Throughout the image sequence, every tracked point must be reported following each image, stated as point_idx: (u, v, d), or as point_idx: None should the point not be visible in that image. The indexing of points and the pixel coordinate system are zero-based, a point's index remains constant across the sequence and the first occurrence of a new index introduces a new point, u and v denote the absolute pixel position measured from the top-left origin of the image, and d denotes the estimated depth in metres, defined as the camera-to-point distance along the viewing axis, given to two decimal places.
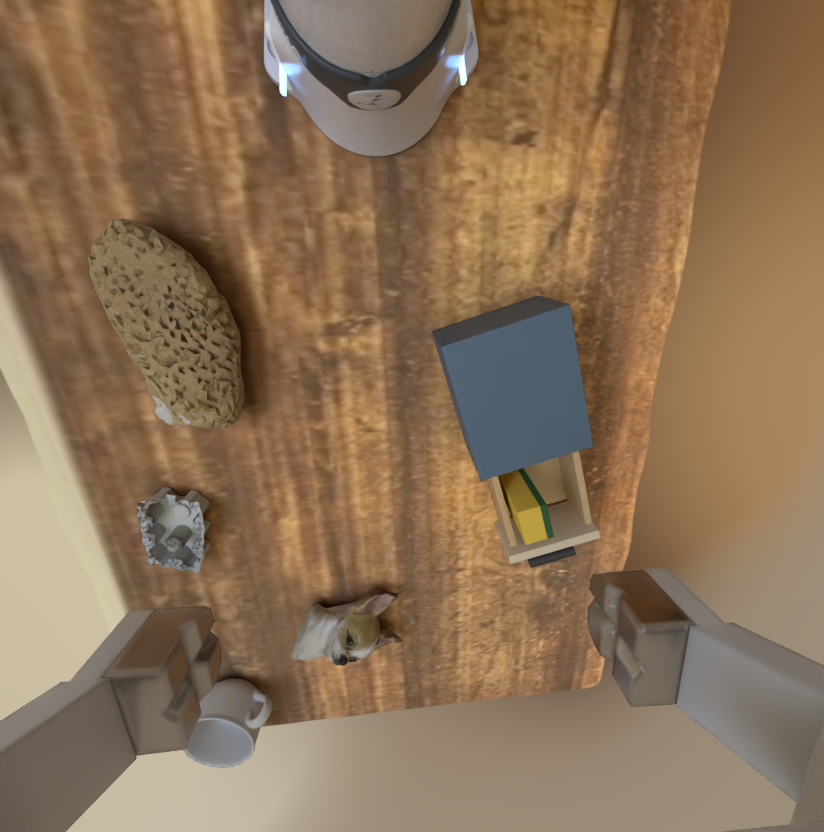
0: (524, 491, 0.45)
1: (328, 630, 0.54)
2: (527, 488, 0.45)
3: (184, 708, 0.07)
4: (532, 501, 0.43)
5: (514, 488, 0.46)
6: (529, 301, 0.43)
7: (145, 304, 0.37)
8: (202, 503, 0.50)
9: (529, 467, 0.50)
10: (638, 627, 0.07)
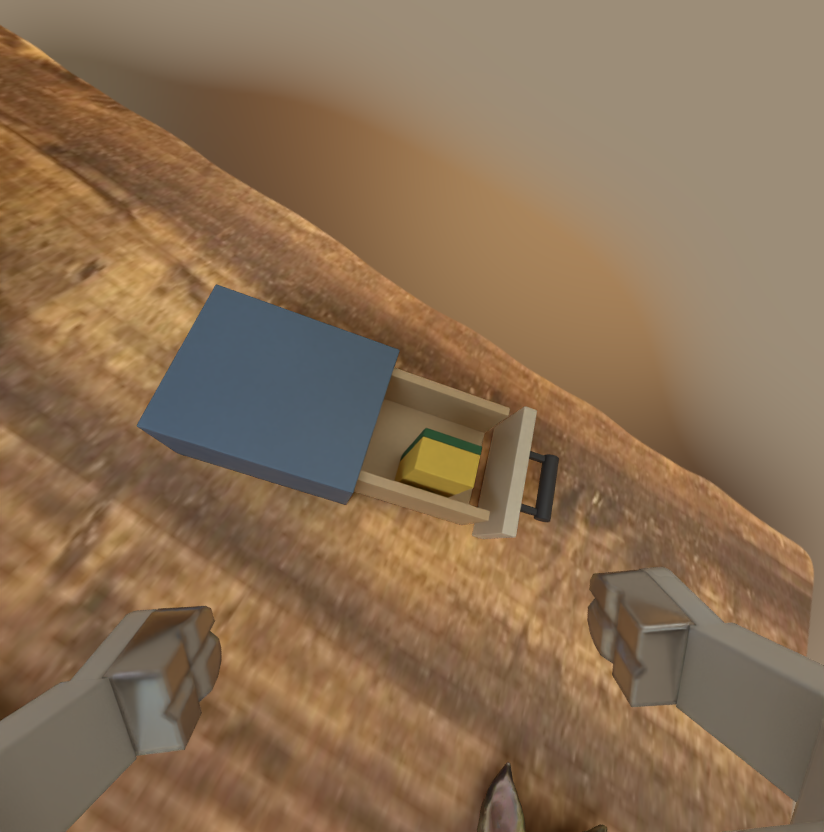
0: (411, 454, 0.31)
1: None
2: (411, 449, 0.32)
3: (184, 708, 0.07)
4: (418, 445, 0.29)
5: (405, 466, 0.32)
6: None
7: None
8: None
9: None
10: (638, 627, 0.07)
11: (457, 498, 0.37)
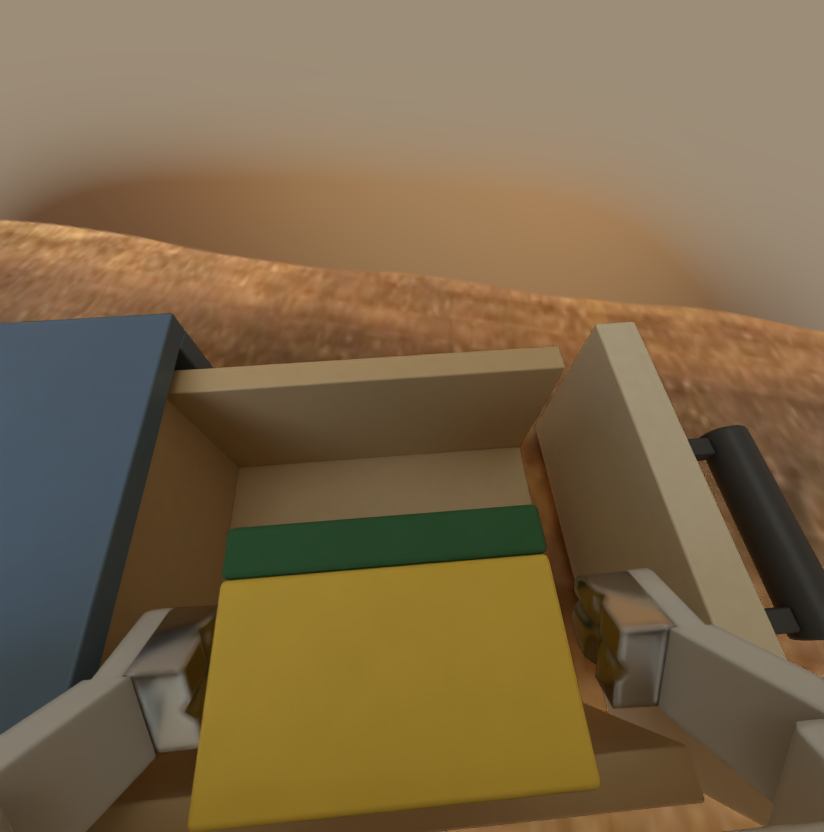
0: None
1: None
2: None
3: (203, 706, 0.07)
4: None
5: None
6: None
7: None
8: None
9: None
10: (619, 629, 0.07)
11: None
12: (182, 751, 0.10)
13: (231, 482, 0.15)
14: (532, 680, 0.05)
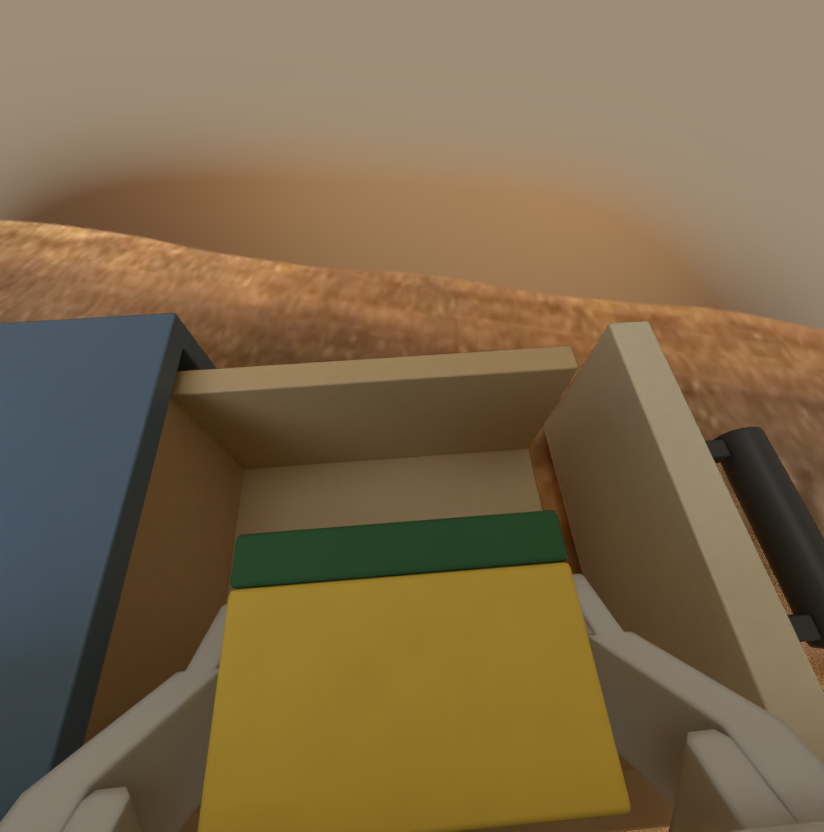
0: None
1: None
2: None
3: None
4: None
5: None
6: None
7: None
8: None
9: None
10: None
11: None
12: None
13: (236, 484, 0.15)
14: (556, 696, 0.05)
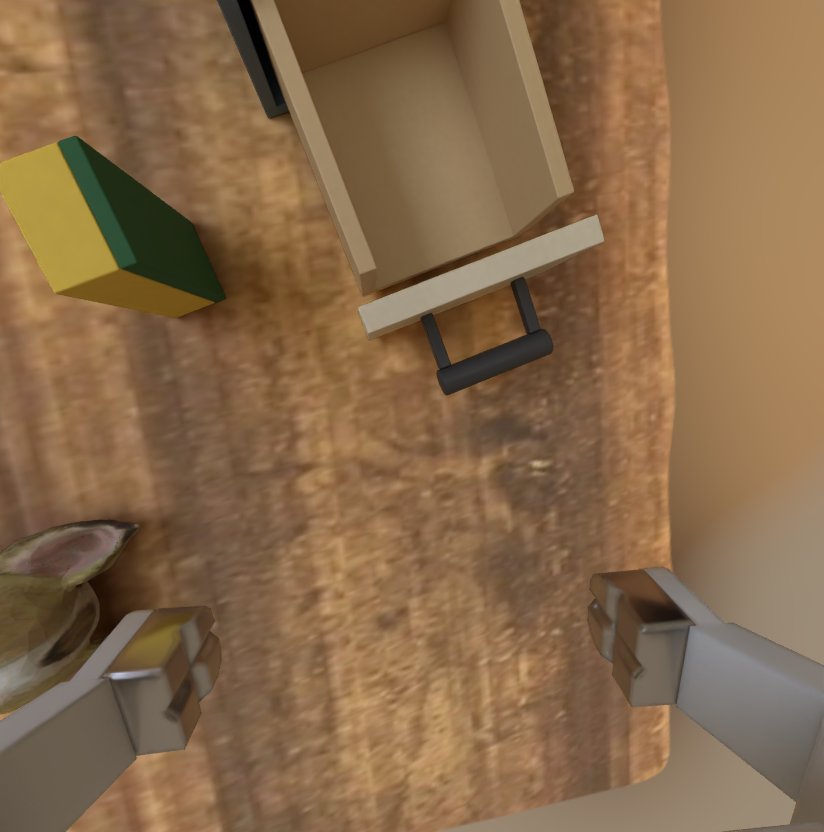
0: None
1: None
2: None
3: (184, 707, 0.07)
4: None
5: None
6: None
7: None
8: None
9: (412, 144, 0.21)
10: (638, 627, 0.07)
11: (389, 259, 0.22)
12: None
13: (432, 19, 0.20)
14: (73, 268, 0.14)
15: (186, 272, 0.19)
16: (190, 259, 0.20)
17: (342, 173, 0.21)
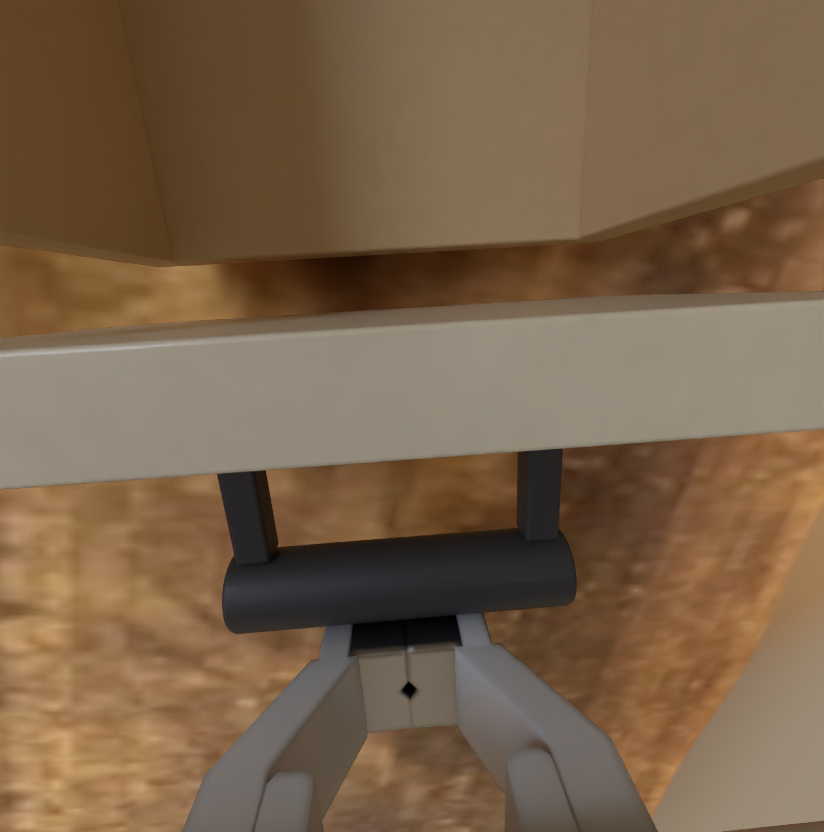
0: None
1: None
2: None
3: (408, 687, 0.07)
4: None
5: None
6: None
7: None
8: None
9: None
10: (406, 647, 0.07)
11: (228, 191, 0.08)
12: None
13: None
14: None
15: None
16: None
17: None
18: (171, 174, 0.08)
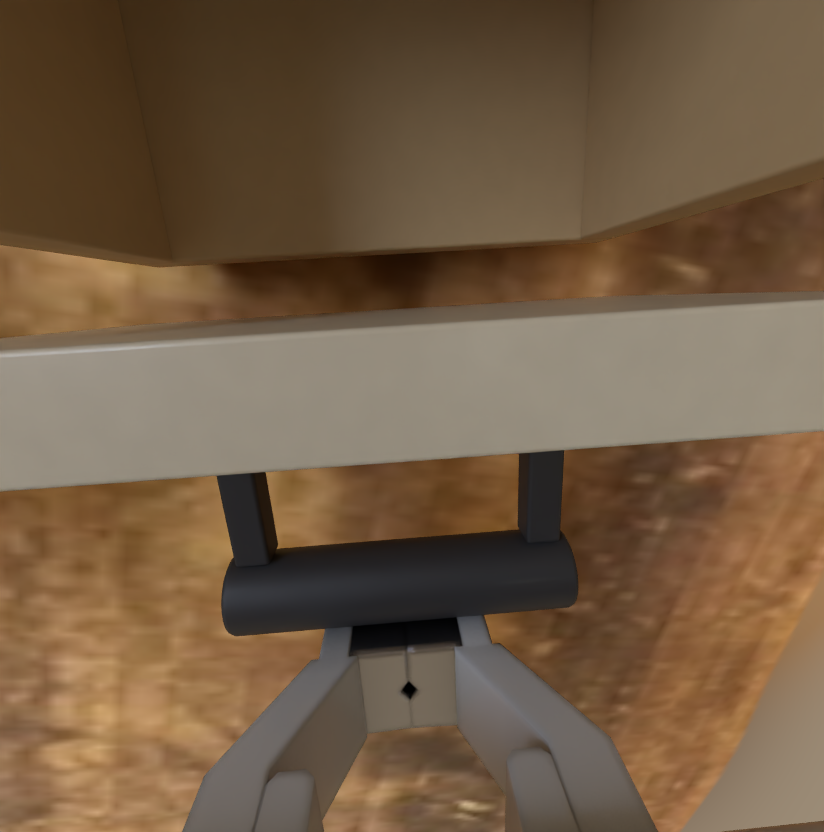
0: None
1: None
2: None
3: (408, 687, 0.07)
4: None
5: None
6: None
7: None
8: None
9: None
10: (406, 647, 0.07)
11: (228, 191, 0.08)
12: None
13: None
14: None
15: None
16: None
17: None
18: (170, 174, 0.08)
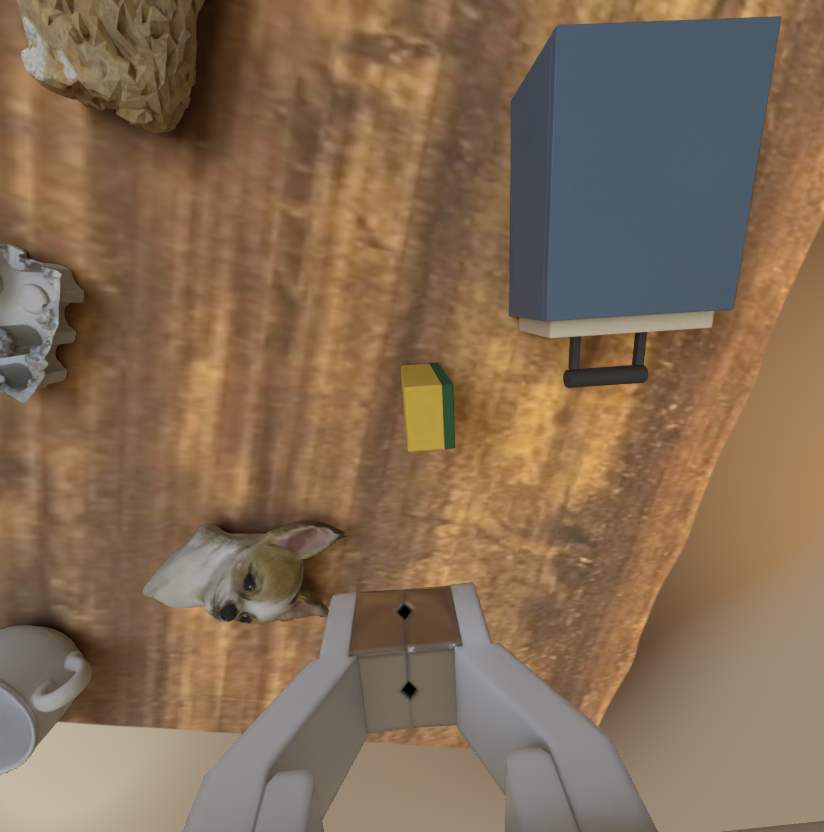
0: (427, 376, 0.29)
1: (219, 559, 0.33)
2: (433, 374, 0.29)
3: (408, 687, 0.07)
4: (433, 381, 0.27)
5: (415, 374, 0.30)
6: None
7: None
8: (70, 287, 0.30)
9: None
10: (406, 647, 0.07)
11: None
12: None
13: None
14: (423, 443, 0.27)
15: None
16: None
17: None
18: None
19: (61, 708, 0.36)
